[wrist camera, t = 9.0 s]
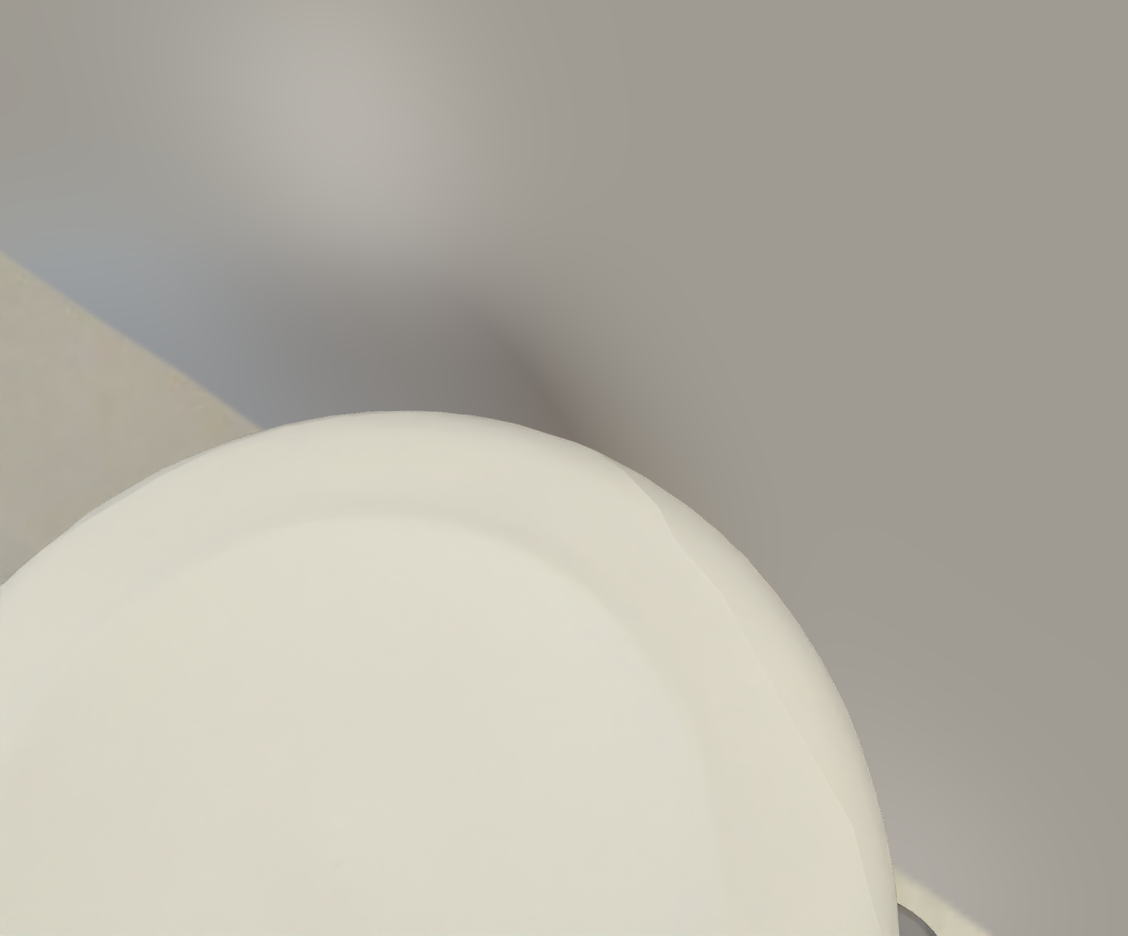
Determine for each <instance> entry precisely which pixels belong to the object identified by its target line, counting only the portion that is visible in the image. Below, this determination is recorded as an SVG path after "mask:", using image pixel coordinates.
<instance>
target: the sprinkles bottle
mask: <svg viewBox="0 0 1128 936" xmlns="http://www.w3.org/2000/svg"><path fill="white" fill-rule="evenodd" d="M0 936H900V935H899V923H898V909H897V895H896V884H895V879H894V873H893V868H892V862H891V857H890V851H889V846H888V840H887V834H886V830H885V825H884V822H883V817H882V814H881V810H880V806H879V802H878V798H877V795H876V792H875V789H874V785H873V782H872V779H871V776H870V773H869V769H868V766H867V763H866V760H865V756H864V753H863V750H862V747H861V743H860V741H859V738H858V736H857V733H856V731H855V729H854V726H853V723H852V721H851V718H850V716H849V714H848V711H847V709H846V706H845V704H844V702H843V700H842V698H841V696H840V694H839V692H838V690H837V689H836V687H835V685H834V683H833V681H832V679H831V677H830V675H829V673H828V671H827V669H826V667H825V665H824V664H823V662H822V661H821V659H820V657H819V656H818V654H817V652H816V651H815V649H814V648H813V646H812V644H811V643H810V641H809V640H808V638H807V636H806V634H805V633H804V632H803V630H802V628H801V627H800V625H799V624H798V622H797V621H796V620H795V618H794V617H793V615H792V614H791V613H790V612H789V610H788V609H787V607H786V606H785V605H784V603H783V602H782V600H781V599H780V598H779V596H778V595H777V594H776V592H775V591H774V590H773V589H772V587H771V586H770V585H769V584H768V583H767V582H766V581H765V580H764V578H763V577H762V576H761V575H760V574H759V572H758V571H757V570H756V569H755V568H754V566H753V565H752V564H751V563H750V561H749V560H748V559H747V558H746V557H745V555H743V554H742V553H741V552H740V551H739V550H738V549H736V548H735V547H734V546H733V545H732V544H731V543H729V542H728V540H727V539H726V537H725V536H724V535H722V534H721V533H720V532H719V531H718V530H716V529H715V528H714V527H713V526H712V525H710V524H709V523H708V522H707V521H706V520H704V519H703V518H702V517H701V516H700V515H698V514H697V513H696V512H695V511H694V510H692V509H691V508H690V507H689V506H687V505H686V504H684V503H683V502H681V501H680V500H678V499H677V498H675V497H674V496H672V495H671V494H669V493H668V492H666V491H665V490H663V489H662V488H661V487H659V486H658V485H656V484H655V483H653V482H652V481H650V480H649V479H648V478H646V477H645V476H643V475H641V474H639V473H637V472H635V471H633V470H632V469H629V468H628V467H626V466H624V465H622V464H620V463H618V462H616V461H614V460H612V459H610V458H608V457H607V456H605V455H602V454H601V453H599V452H597V451H595V450H593V449H590V448H588V447H585V446H583V445H580V444H578V443H576V442H573V441H570V440H567V439H563V438H560V437H557V436H554V435H551V434H547V433H544V432H541V431H538V430H534V429H531V428H528V427H525V426H522V425H518V424H514V423H510V422H505V421H500V420H495V419H490V418H485V417H481V416H473V415H464V414H455V413H446V412H430V411H371V412H362V413H353V414H344V415H336V416H327V417H321V418H316V419H311V420H306V421H301V422H295V423H290V424H286V425H281V426H278V427H274V428H271V429H268V430H264V431H260V432H257V433H254V434H250V435H247V436H243V437H240V438H237V439H234V440H232V441H229V442H226V443H224V444H221V445H219V446H216V447H214V448H211V449H209V450H206V451H204V452H201V453H198V454H196V455H194V456H191V457H189V458H187V459H185V460H182V461H180V462H178V463H175V464H173V465H171V466H168V467H166V468H164V469H161V470H159V471H157V472H155V473H154V474H152V475H150V476H148V477H147V478H145V479H143V480H141V481H140V482H138V483H136V484H135V485H133V486H131V487H129V488H128V489H126V490H124V491H123V492H121V493H119V494H118V495H116V496H114V497H113V498H111V499H109V500H108V501H106V502H104V503H103V504H101V505H100V506H98V507H97V508H95V509H94V510H92V511H91V512H89V513H88V514H86V515H85V516H84V517H83V518H81V519H80V520H79V521H78V522H76V523H75V524H74V525H72V526H71V527H70V528H69V529H67V530H66V531H65V532H64V533H62V534H61V535H60V536H59V537H57V538H56V539H55V540H53V541H52V542H51V543H50V544H49V545H47V546H46V547H45V548H44V549H42V550H41V551H40V552H39V553H37V554H36V555H35V556H34V557H33V558H31V559H30V560H29V561H28V562H27V563H25V564H24V565H23V566H22V567H21V568H20V569H19V570H18V571H17V572H15V573H14V574H13V575H12V576H11V577H10V578H9V579H8V580H7V581H6V582H5V583H4V584H3V585H2V586H1V587H0Z"/></svg>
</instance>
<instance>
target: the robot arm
mask: <svg viewBox="0 0 1128 936" xmlns="http://www.w3.org/2000/svg"><path fill="white" fill-rule="evenodd" d="M897 909H898V923H899V935H900V936H937V935H936V934H935V932H934V931H933V930H932V929H931V928H930V927H929V926H928V925H927V924H926V923H925V922H924V921H923V920H922V919H921V918H919V917H918V916H917V915H916V914H914V913H913V912H912V911H910V910H908V909H907V908H905V907H903V906H902V905H900V904H898V903H897Z"/></svg>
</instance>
